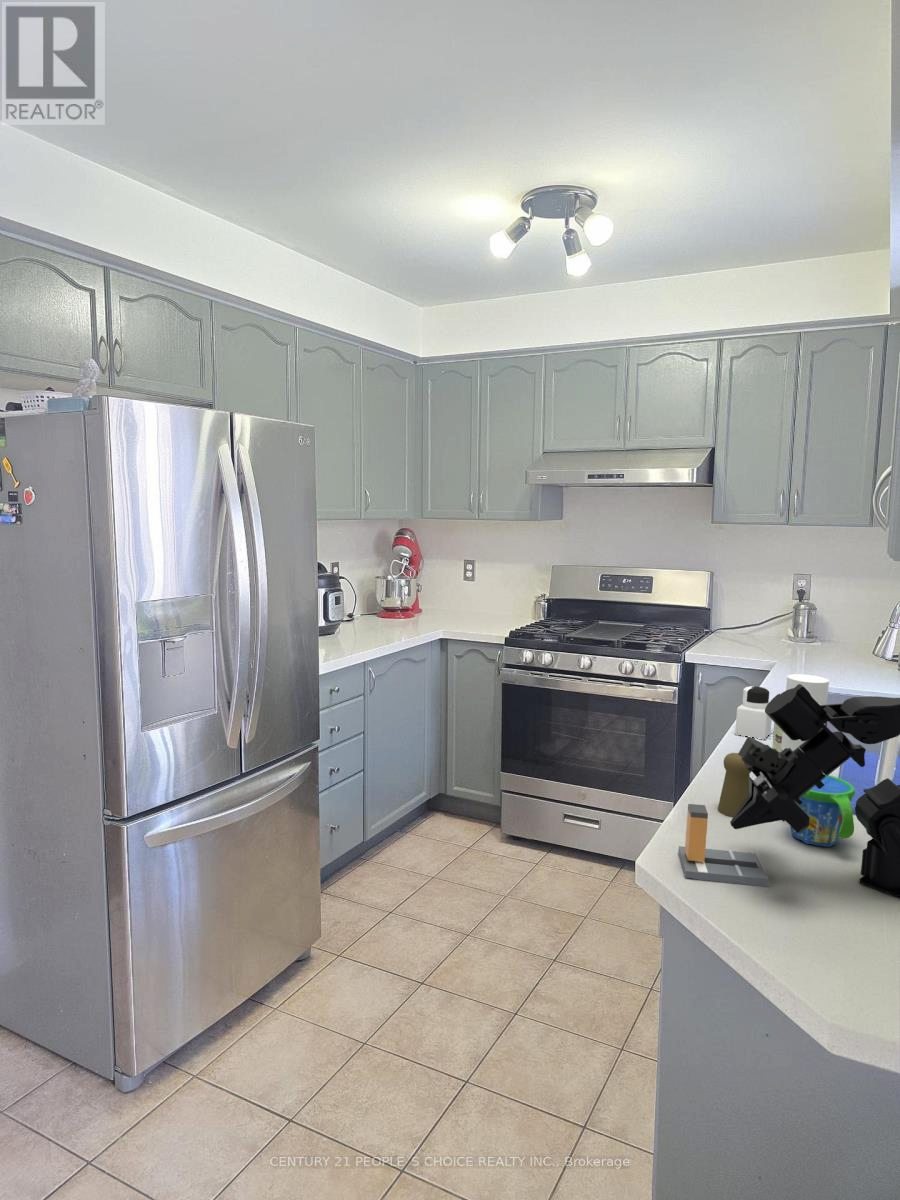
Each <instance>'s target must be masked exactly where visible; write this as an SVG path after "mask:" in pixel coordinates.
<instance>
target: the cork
mask: <svg viewBox="0 0 900 1200" xmlns="http://www.w3.org/2000/svg"><path fill="white" fill-rule="evenodd" d="M738 753H739V752H731V753H728V754H726V755H725V756H724V759H723V768H724V770H725V774H724V779H723V783H722V787H721V788H722V789H721V793H720V797H719V802H718V805H717V812H719V813H720V814H721V815H724V816H726V817H730V818H733V817H734V816H735V814H736V813H737V811H738V810H739V808H740V807H741V805H742V804H743V802H744V801H745V799H746V797H747V796H748V794H749V777H750V778H751V776H750V775H751V773H753V772H752V771H749V770H748V769H747V768H746V766H745V764H744V763H745V762H744V761H742V759H741V758H742V757H741V755H739V754H738Z"/></svg>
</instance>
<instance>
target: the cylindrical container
mask: <svg viewBox="0 0 900 1200" xmlns="http://www.w3.org/2000/svg"><path fill="white" fill-rule="evenodd" d="M798 684H801V685H802V686H804V687H805V688H806V689H807V690H808V692H809V693H810V695H811V696H812V698H813V699H814V700H815V701H816V702H817V703H818V704H819V705H828V696H829V695H828V694H829V685H830V680H829V679H828V678H825V677H823V676H818V675H814V674H813V675H812V674H802V673H801V674H799V673H798V674H797V673H796V674H794V673H793V674H788V675H787V676H786V686H785V688H786V689H785V691H786V690H789V689H792V688H795V687H796V686H797V685H798ZM824 725H825V724H824ZM803 742H805V741H801V740H800V739H799V740H791V739H790V738H789V737H788V736H787V735H786V734H785V733H784V732H783V733H782V745H781V752H782V751H783V750H784V749H786V748H790V749H791V750H792V751H794V750H795V749H796V748H797V747H799V746H800V745H801V744H802V743H803Z"/></svg>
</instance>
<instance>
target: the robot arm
mask: <svg viewBox="0 0 900 1200" xmlns="http://www.w3.org/2000/svg"><path fill="white" fill-rule="evenodd" d="M765 713H766V714H767V715H768V716H769V717H770V718H771V719H772V722H773V723H774V722H775V723H776V724H777V726H778V727H779V728H780V729H781V730H782V731H783V732H784V733H785V734H786V735H787V736H788V737H789V738H790V739H791V740H799V739H800V740H801V741H805V742H803V743H802V744H801V745H800V746H799V747H797V748H796V749H795V750H794V751H792V750H791V749H790V748H786V749H784V750H783V751H782V752H778V751H777V750H776V749H775V748H774V749H773V748H772V746H770V745H769V744H765V743H763V742H762V741H759V740H758V739H755V738H751V737H746V739H745V740H744V742H743V744H742V747H741V748H740V750H739V752H737V753H738V754H739V755H741V757H742V758H741V759H742V761H744V762H745V763H744V764H745V766H746V768H747V769H748V770H749V771H752V772H751V773H752V774H753V775H754V776H755V777H756V778H754V779H753V778H751V776H750V777H749V794H748V796H747V797H746V799H745V801H744V802H743V804H742V805H741V807H740V808H739V810H738V811H737V813H736V814H735V816H734V817H732V818H731V820H730V821H729V824H730V826H731V827H732V828H733V829H734V830H740V829H745V828H748V827H749V828H750V827H753V826H757V825H761V824H767V823H774V822H780V821H782V822H786V823H787V824H788V825H789V826H790V828H791V827H792V828H793V829H794V830H795V831H796V832H797V833H798V834H800V833H801V832H802V831H803V830H805V829H806V828H807V827H808V826H809V818H810V817H809V816H808V815H807V813H806V812H805V810H804V809H803V808H802V807H801V806H800V805H801V804H802V803H803V802H802V801H801V799H800V798H801V797H802V796H803V795H804V794H806V793H807V792H808V791H809V790H811V789H812V788H813V787H814V786H817V787H818V788H819V789H821V788H822V787H823V786H824V784H823V782H822V780H823V779H824V778H826V776H828V775H829V776H830V775H831V774H832V773H833V772H834V771H836V770H837V769H838V768H840V767H841V766H842V765H843V764H844V763H846V762H847V761H848V760H849V759H852V760H853V761H854V762H855V763H856V764H857V765H858V766H859V767H861V768H864V767H865V766H866V759H865V754H866V748H865V747H864V746H863V745H861V744H854V743H853V742H852V741H851V740H850V739H849V738H848V737H847V736H846V735H845V734H849V735H851V737H852V738H854V739H855V740H857V741H858V742H860V743H862V744H864V745H875V744H879V743H882V742H886V741H888V740H891V739H894V738H897V737H899V736H900V697H887V696H877V695H876V696H854V697H850V698H847V699H846V700H844V701H843V702H842V703H832V704H827V705H819V704H818V703H817V702H816V701H815V700H814V699H813V698H812V696H811V695H810V693H809V692H808V690H807V689H806V688H805V687H804V686H802V685H801V684H798V685H797V686H796V687H795V688H792V689H789V690H786V689H785V691H783V692H781V693H777V694H776V695H775V696H774V697H773V698H772V699H771V700H769V703H768V705H767V706H766V708H765ZM826 722H827V723H829V724H830V725H832V727H834V728H835V729H836V731H833V732H832V731H831V730H830V729H829V728H828V726H827V727H826V726H825V725H824V724H825V723H826ZM824 774H825V775H826V776H825V775H824ZM862 791H863V793H864V794H862V795H861V796H859V798H857V800H856V803H855V807H854V815H855V816H856V819H857V820H858V822H859V823H860V825H862V827H863V828H864V829H865V831H866V834H867V835H868V836H870V837H871V839H869V840H867V842H866V848H864V849H863V850H862V856H861V864H860V865H861V867H860V875H861V876H862V877H860V878H859V879H858V883H859V884H862V885H863V886H867V887H870V888H873V889H875V890H878V891H881V892H883V893H886V894H889V895H892V896H894V897H897V898H898V899H899V898H900V784H897V785H896V783H894V782H893V781H892V780H891V779H890V778H888V777H887V778H885V779H883V780H881V781H880V782H878V784H876V785H874V786H873V787H870V788H864V789H863V790H862Z"/></svg>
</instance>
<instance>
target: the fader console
mask: <svg viewBox="0 0 900 1200" xmlns="http://www.w3.org/2000/svg"><path fill="white" fill-rule="evenodd" d="M677 851H678V852H677V853H678V857H679V860H680V865H681V867H682V868H681V869H682V871H683V875H684V878H685V879H686V878H693V879H692V880H696V879H701V880H700V881H706V880H710V881H709V882H716V881H718V882H719V881H720V882H719V883H726V882H728V884H738V885H747V886H748V885H749V886H758V887H769V883H770V882H769V881H770V879H769V877H768V874H767V873H766V871H765V869H764V867H763V865H762V863H761V861H760V859H759V857H758V855H757V853H756V852H755V853H754V852H744V851H736V850H735V851H734V850H732V849H727V850H723V849H714V848H713V849H712V848H705V861H704V862H700V861H695V862H690V860H688V859H687V856H686V853H685V846H683V845H682V846H681V845H679V846H678V850H677ZM718 882H717V883H718Z"/></svg>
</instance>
